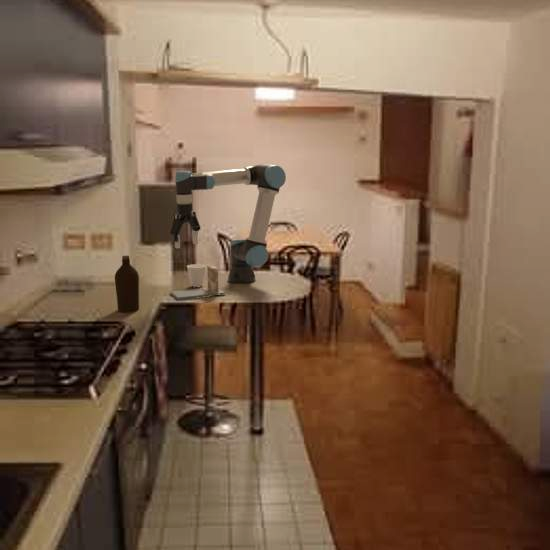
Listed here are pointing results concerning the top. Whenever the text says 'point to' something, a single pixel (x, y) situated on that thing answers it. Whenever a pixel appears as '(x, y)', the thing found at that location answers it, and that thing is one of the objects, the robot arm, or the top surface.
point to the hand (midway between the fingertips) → (186, 246)
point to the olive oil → (127, 287)
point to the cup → (196, 274)
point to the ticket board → (189, 294)
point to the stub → (213, 281)
